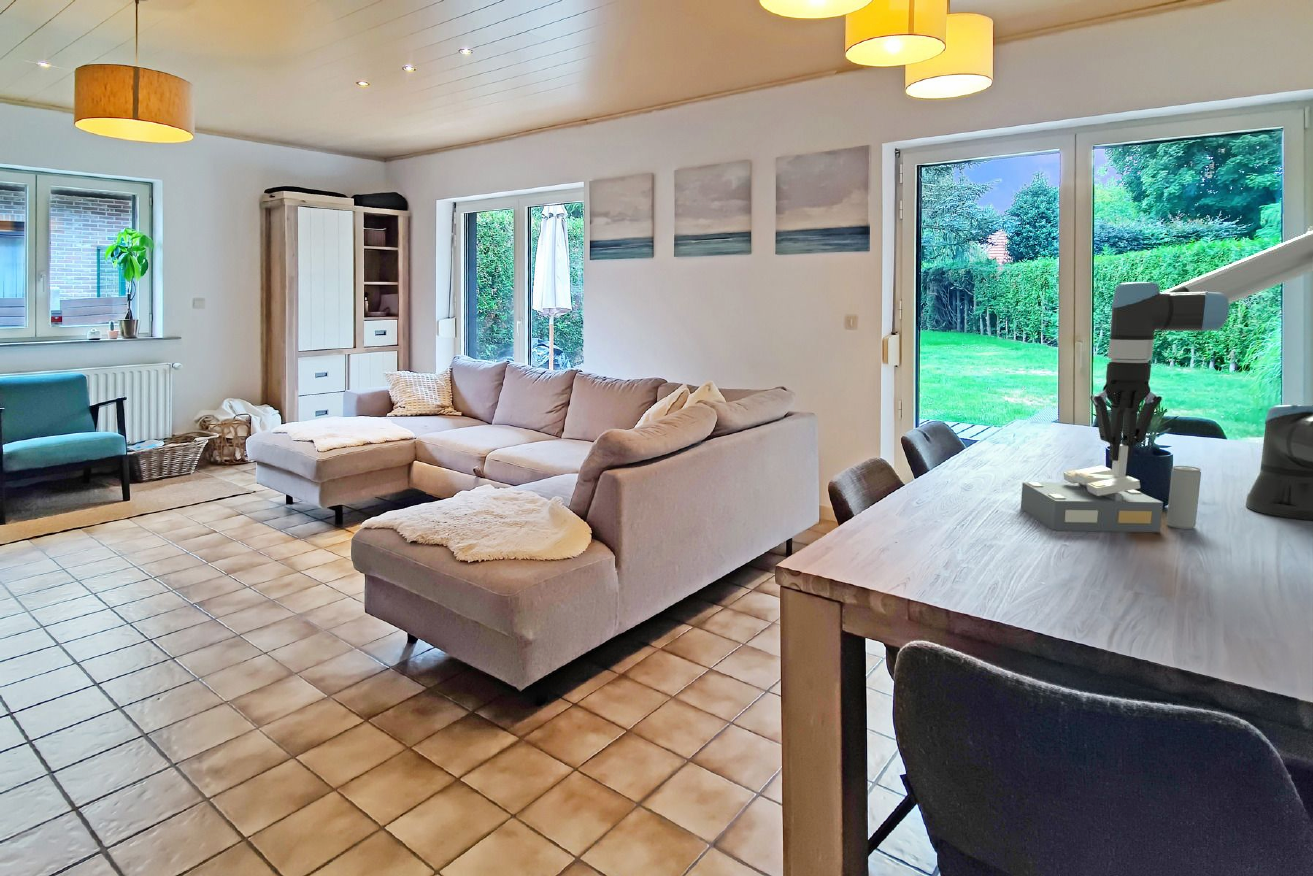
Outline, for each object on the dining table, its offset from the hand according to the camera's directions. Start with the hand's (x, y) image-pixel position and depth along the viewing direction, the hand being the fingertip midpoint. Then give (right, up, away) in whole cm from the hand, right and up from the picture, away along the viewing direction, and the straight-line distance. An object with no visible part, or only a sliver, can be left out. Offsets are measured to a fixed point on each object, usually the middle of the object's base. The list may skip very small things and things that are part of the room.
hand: (1118, 476), depth 155 cm
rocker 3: (-4, -2, -5) cm, 6 cm away
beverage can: (+10, -10, -3) cm, 15 cm away
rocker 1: (-3, 0, +6) cm, 6 cm away
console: (-5, -9, +2) cm, 11 cm away
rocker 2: (-4, -1, 0) cm, 4 cm away
